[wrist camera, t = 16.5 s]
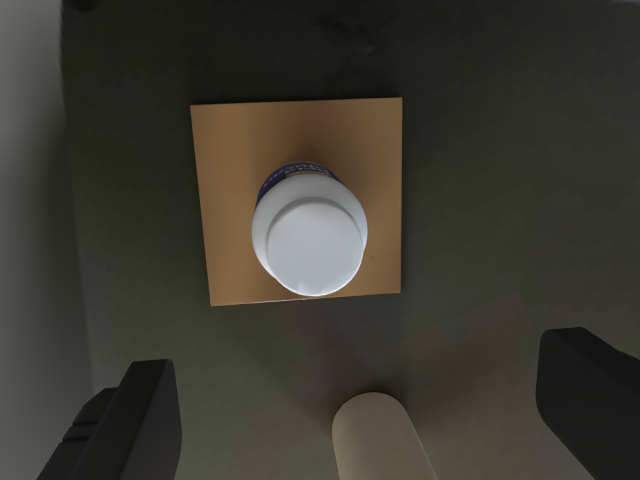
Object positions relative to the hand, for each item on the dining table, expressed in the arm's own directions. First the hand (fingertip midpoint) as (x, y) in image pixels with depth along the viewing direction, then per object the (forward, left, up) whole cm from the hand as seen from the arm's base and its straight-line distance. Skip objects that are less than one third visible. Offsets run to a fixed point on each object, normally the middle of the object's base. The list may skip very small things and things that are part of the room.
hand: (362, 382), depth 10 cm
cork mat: (0, 0, -20) cm, 20 cm away
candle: (+4, -16, -20) cm, 26 cm away
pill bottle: (0, 0, -19) cm, 19 cm away
